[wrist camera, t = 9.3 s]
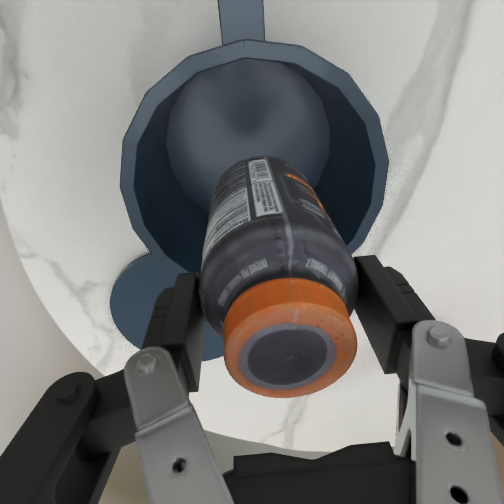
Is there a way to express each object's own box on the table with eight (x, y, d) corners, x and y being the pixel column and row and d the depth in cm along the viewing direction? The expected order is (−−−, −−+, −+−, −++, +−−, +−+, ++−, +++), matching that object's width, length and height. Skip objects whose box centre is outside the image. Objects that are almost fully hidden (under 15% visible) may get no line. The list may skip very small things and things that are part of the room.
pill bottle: (324, 226, 20) (408, 390, 10) (236, 260, 21) (240, 438, 11) (292, 134, 17) (370, 245, 7) (191, 179, 18) (146, 328, 8)
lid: (135, 361, 48) (120, 406, 42) (91, 254, 38) (64, 293, 32) (262, 349, 48) (266, 393, 42) (252, 239, 38) (255, 275, 32)
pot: (182, 253, 39) (163, 330, 28) (128, 15, 27) (59, -7, 16) (331, 240, 39) (367, 311, 28) (345, -5, 27) (419, -41, 16)
